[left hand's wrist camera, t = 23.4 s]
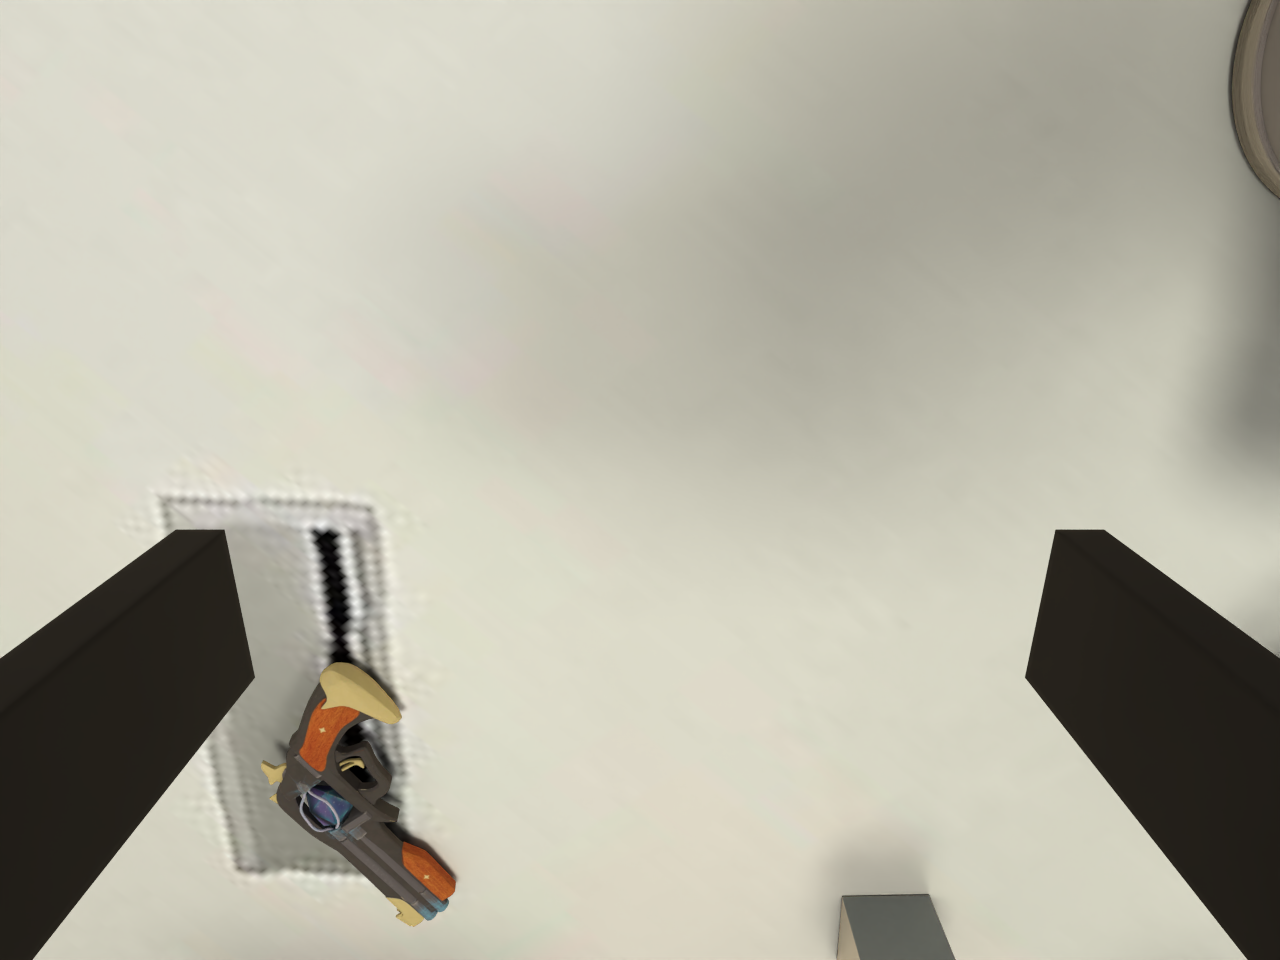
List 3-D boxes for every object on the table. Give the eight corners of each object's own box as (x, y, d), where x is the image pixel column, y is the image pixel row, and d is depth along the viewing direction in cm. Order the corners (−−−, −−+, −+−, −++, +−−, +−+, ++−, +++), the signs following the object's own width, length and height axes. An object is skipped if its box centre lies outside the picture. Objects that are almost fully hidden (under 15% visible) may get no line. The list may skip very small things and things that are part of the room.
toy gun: (339, 670, 44) (198, 760, 44) (533, 868, 50) (408, 943, 51) (349, 644, 46) (216, 730, 47) (533, 836, 53) (414, 908, 54)
